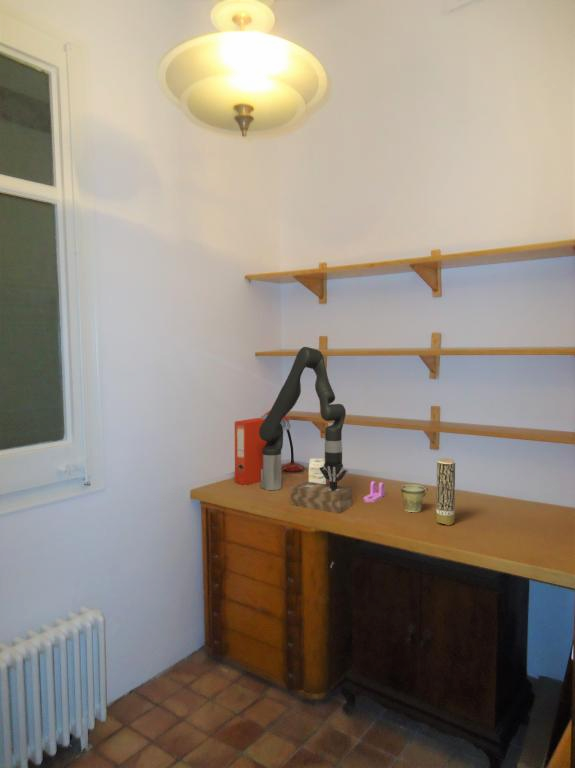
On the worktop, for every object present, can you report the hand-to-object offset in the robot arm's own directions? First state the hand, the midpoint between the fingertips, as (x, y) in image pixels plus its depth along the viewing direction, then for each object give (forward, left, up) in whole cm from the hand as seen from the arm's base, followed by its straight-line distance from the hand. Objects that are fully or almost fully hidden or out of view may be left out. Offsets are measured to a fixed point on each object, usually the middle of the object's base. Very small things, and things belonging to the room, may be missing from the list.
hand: (333, 489), depth 227 cm
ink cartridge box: (-20, +23, -8) cm, 32 cm away
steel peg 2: (0, 0, -8) cm, 8 cm away
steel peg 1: (-12, 0, -8) cm, 14 cm away
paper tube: (+47, +4, -8) cm, 48 cm away
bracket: (+10, +21, -8) cm, 25 cm away
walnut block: (-6, 0, -8) cm, 10 cm away
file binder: (-56, +19, -8) cm, 60 cm away
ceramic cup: (+32, +14, -8) cm, 36 cm away
